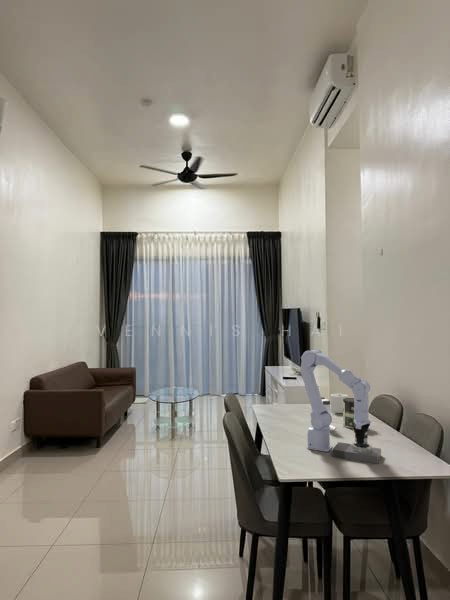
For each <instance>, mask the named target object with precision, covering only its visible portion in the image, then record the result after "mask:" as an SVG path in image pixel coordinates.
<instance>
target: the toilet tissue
mask: <svg viewBox="0 0 450 600" xmlns="http://www.w3.org/2000/svg"><path fill="white" fill-rule="evenodd" d="M345 398H349V395H348V394H346V393H331V394H330V409H331V413H333V414H343V399H345Z"/></svg>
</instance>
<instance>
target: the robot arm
mask: <svg viewBox="0 0 450 600" xmlns="http://www.w3.org/2000/svg"><path fill="white" fill-rule="evenodd" d="M300 359H301V363H300V369H299V370H300V373H301V374H300V375H301V377H302V380H303V383H304V388H305V391H306V395H307V397H308V401H309V403H310V406H311V410H310V413H309V415H310V424H311V427H310V426H309V427H308V430H307V447H306V449H307V450H313V451H314V450H315V451H320V452H327V453H328V452H330V450H331V449H333V445H330V444H331V439H330V438H331V437H330V436H331V434H330V431H331V430H330V427H329V425H331V424H332V421H333V417H332V415H331V414H329V413H328V411H327V408H326V407H325V406H324V405H323V403H322V399H321V397H322V396H321V394H320V391H319V387H318V383H317V381H316V378H315V374H314V371H315V369H316V368H317V366H324V367H325V368H327V369H328V370H330V371H331V372H333V373H334V374H335V375H337V376H338V379H339V381H340V382H342V383H343V384H344V385H345V386H347V387H348V388H350V389H351V391H352V393H353V395H354V396H353V398H354V422H355V424H356V426H353V428H352V430H353V431H354V435H355V434H356V438H357V443H358V444H363V443H364V436H365V432H366V431H367V432H368V431H369V427H370V425H371V424H372V420H369V418H370V417H369V414H370V413H369V392H370V391H371V386H370V383H369V382H367V380H364V379H362V378H361V377H358V376H357V375H355V373H353V370H351V369H348V368H346V369H343V368H342V367H341V366H340V365H338V364H337V362H335V361H334V360H333V359H332V358H330V357H329V356H328V355H327V354H326V353H325V352H323V351H321V349H317V348H316V349H312V350H306V351H304V352H303V354H302V355H301V356H300Z"/></svg>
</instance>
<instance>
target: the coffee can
mask: <svg viewBox="0 0 450 600" xmlns="http://www.w3.org/2000/svg"><path fill="white" fill-rule="evenodd" d="M342 418H343V420H342V421H343V422H342V423H343V424H342V425H343V427H345V428H349V429H353V426H356V424H355V422H354V397H348V398H345V399H343V413H342Z"/></svg>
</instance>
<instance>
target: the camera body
mask: <svg viewBox="0 0 450 600" xmlns="http://www.w3.org/2000/svg"><path fill="white" fill-rule="evenodd" d="M331 449H332V450H331V451H332V453H331V454H332V455H331V457H332V458H338V459H343V460H344V459H345V460H351V461H357V462H364V463H370V464H375V465H377V464H378V463H379V461H380V459H381V457H382V449H381V448H378V447H372V444H370V443H368V447H357V446H355V442H352V443H347V442H339V441H337V443H336V444H335V446H334V447H332V448H331Z"/></svg>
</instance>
